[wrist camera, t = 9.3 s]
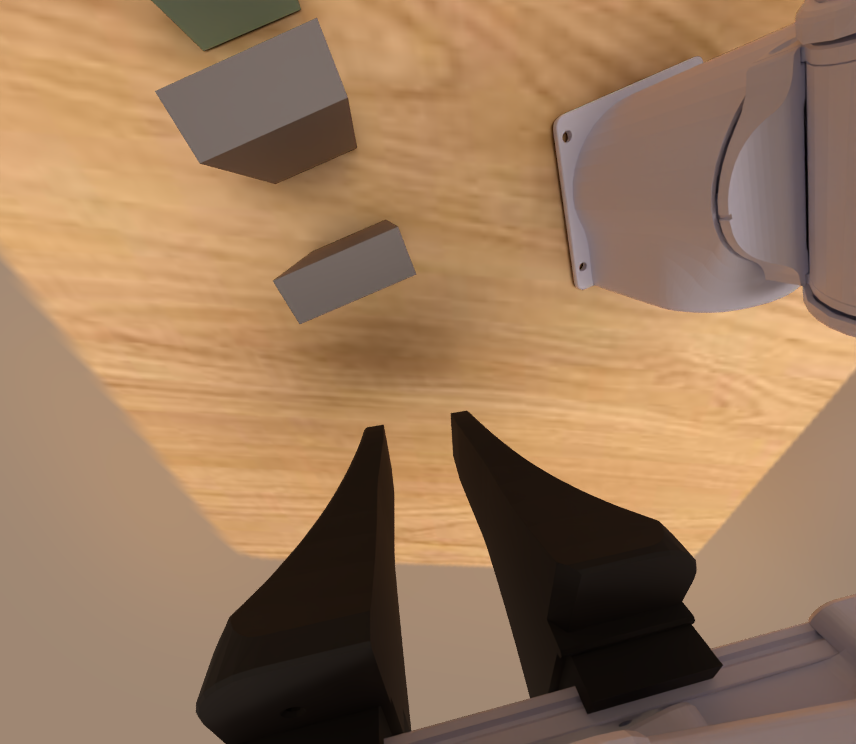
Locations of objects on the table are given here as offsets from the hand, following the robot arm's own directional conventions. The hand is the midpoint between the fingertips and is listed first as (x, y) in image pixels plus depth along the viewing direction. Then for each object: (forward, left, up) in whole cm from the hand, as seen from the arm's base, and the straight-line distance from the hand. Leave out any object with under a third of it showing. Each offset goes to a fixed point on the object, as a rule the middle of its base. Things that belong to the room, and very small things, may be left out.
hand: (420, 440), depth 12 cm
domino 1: (+11, 0, -10) cm, 15 cm away
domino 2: (+6, 0, -10) cm, 12 cm away
